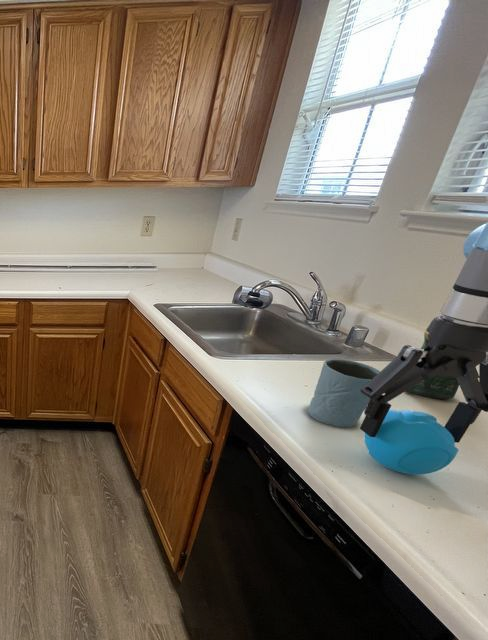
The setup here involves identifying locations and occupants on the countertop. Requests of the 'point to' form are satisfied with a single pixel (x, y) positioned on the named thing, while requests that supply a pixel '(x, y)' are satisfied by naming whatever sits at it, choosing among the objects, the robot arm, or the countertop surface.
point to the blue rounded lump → (412, 443)
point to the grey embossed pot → (341, 392)
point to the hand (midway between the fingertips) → (407, 435)
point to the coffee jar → (435, 380)
